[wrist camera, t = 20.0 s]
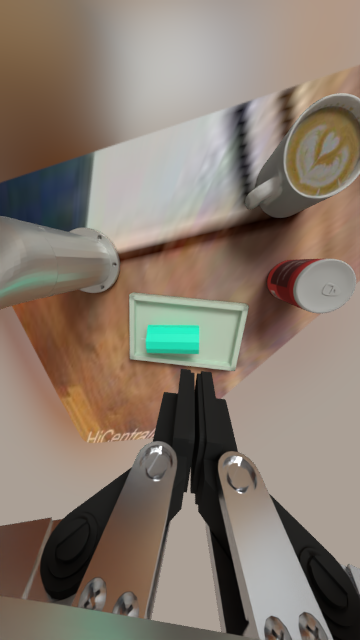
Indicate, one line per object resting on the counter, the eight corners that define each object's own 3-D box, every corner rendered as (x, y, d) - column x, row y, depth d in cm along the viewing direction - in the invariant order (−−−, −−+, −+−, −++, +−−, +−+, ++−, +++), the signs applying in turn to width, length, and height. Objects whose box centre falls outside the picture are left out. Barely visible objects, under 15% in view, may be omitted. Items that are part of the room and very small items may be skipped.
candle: (198, 324, 39) (145, 323, 40) (199, 326, 33) (136, 326, 34) (198, 350, 39) (145, 349, 40) (199, 358, 33) (137, 356, 34)
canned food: (302, 299, 36) (347, 314, 25) (262, 298, 36) (290, 313, 26) (312, 259, 33) (365, 258, 23) (268, 259, 34) (302, 258, 24)
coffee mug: (314, 138, 28) (376, 74, 18) (318, 206, 31) (374, 182, 21) (230, 170, 30) (247, 128, 21) (241, 231, 33) (260, 219, 23)
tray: (133, 353, 43) (129, 359, 40) (133, 292, 38) (129, 294, 36) (232, 364, 42) (234, 371, 39) (245, 303, 37) (248, 306, 35)
